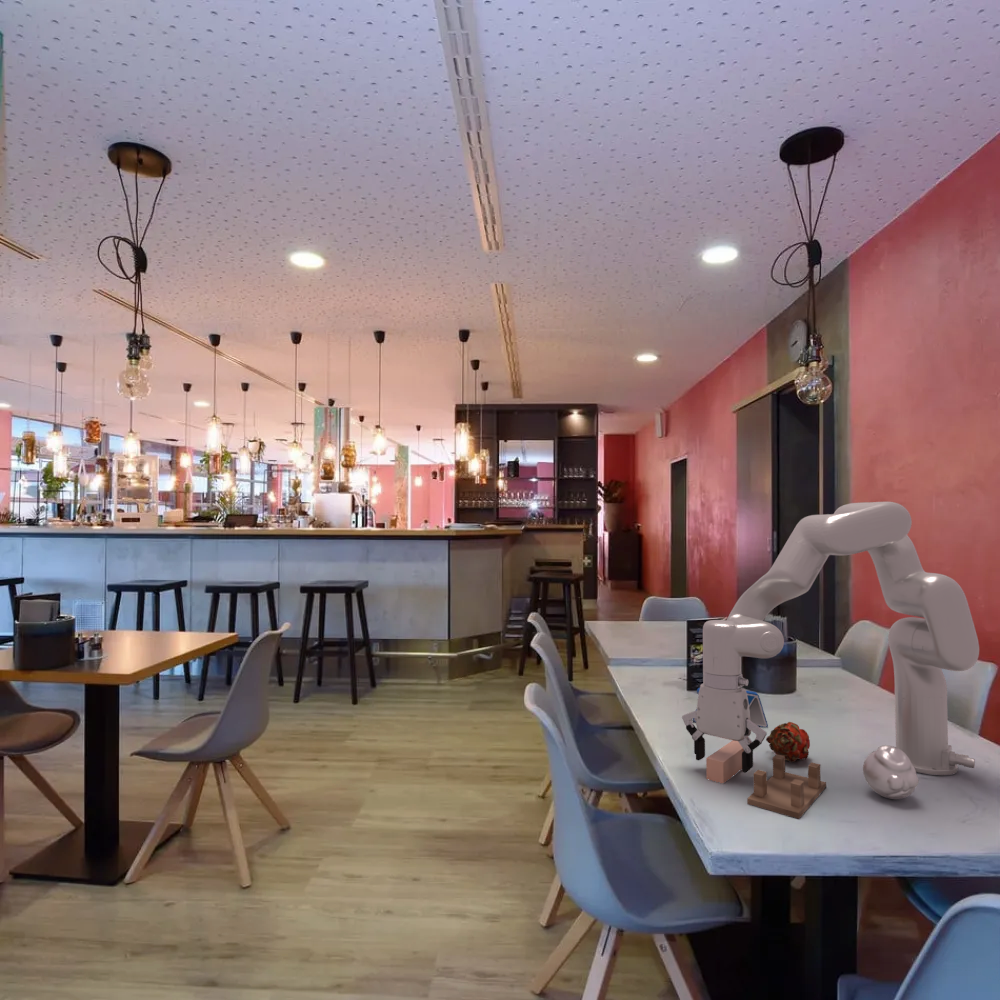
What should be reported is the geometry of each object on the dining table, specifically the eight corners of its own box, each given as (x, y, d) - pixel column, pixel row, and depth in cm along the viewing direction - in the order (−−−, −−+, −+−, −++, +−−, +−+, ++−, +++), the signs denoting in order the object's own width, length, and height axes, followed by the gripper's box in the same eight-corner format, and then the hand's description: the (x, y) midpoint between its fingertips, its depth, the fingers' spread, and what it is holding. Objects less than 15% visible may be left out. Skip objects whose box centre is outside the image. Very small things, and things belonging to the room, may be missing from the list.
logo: (692, 721, 164) (697, 683, 164) (691, 718, 166) (696, 681, 167) (766, 735, 160) (771, 696, 161) (764, 732, 163) (769, 694, 163)
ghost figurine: (861, 801, 117) (860, 747, 118) (865, 784, 125) (864, 733, 126) (919, 813, 112) (918, 757, 113) (919, 795, 120) (917, 742, 121)
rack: (778, 775, 129) (778, 750, 130) (826, 787, 123) (825, 761, 124) (747, 803, 116) (747, 776, 116) (799, 818, 110) (798, 790, 110)
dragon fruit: (789, 776, 133) (783, 764, 144) (824, 755, 132) (815, 745, 143) (763, 739, 136) (758, 731, 147) (797, 718, 135) (790, 711, 146)
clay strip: (735, 758, 139) (735, 738, 139) (751, 762, 137) (751, 742, 137) (706, 780, 127) (706, 758, 127) (723, 785, 125) (723, 762, 125)
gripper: (771, 684, 127) (772, 770, 126) (690, 671, 138) (690, 749, 138) (758, 691, 121) (759, 781, 120) (675, 677, 133) (675, 759, 132)
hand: (722, 764), depth 129 cm, fingers open, 9 cm apart
